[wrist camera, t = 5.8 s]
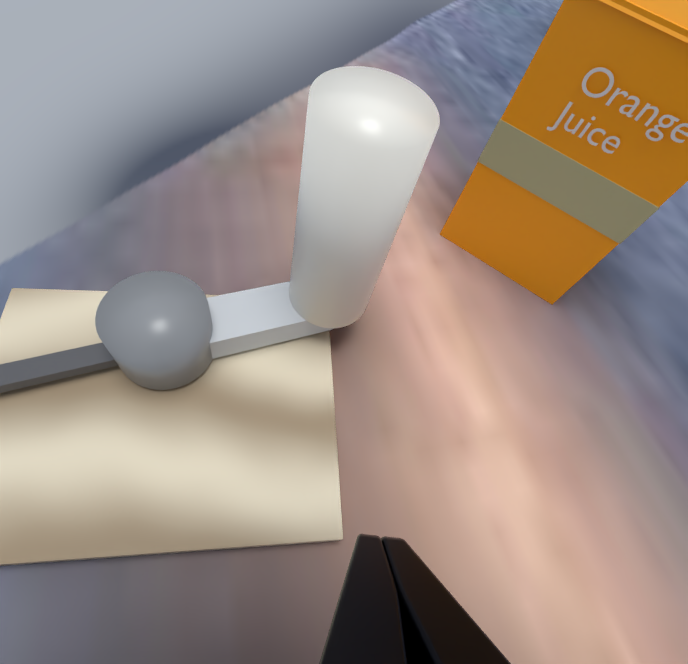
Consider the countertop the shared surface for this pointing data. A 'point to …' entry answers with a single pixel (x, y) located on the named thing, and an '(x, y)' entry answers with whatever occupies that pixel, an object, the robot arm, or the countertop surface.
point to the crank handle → (308, 252)
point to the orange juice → (581, 144)
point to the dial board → (161, 447)
